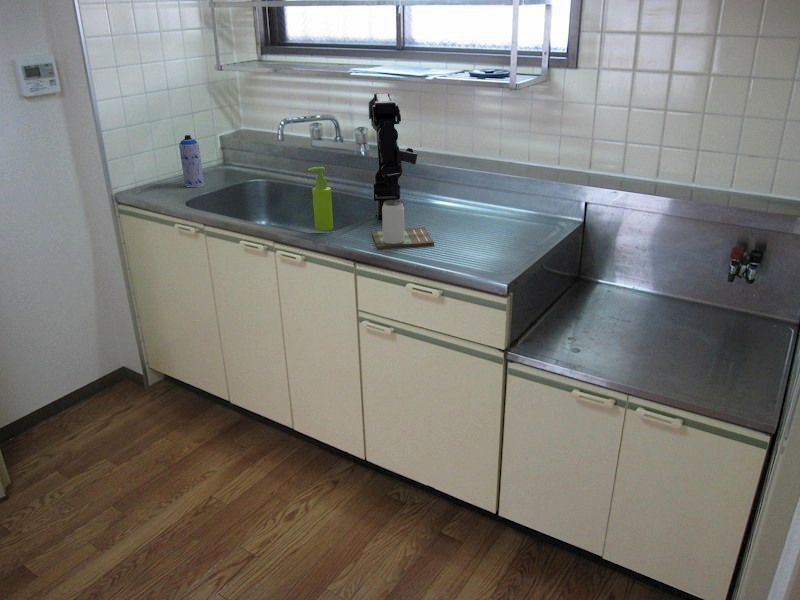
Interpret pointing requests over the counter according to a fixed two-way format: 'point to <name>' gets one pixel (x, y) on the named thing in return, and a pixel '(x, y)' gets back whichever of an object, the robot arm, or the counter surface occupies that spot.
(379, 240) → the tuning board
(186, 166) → the aerosol can
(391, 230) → the can
